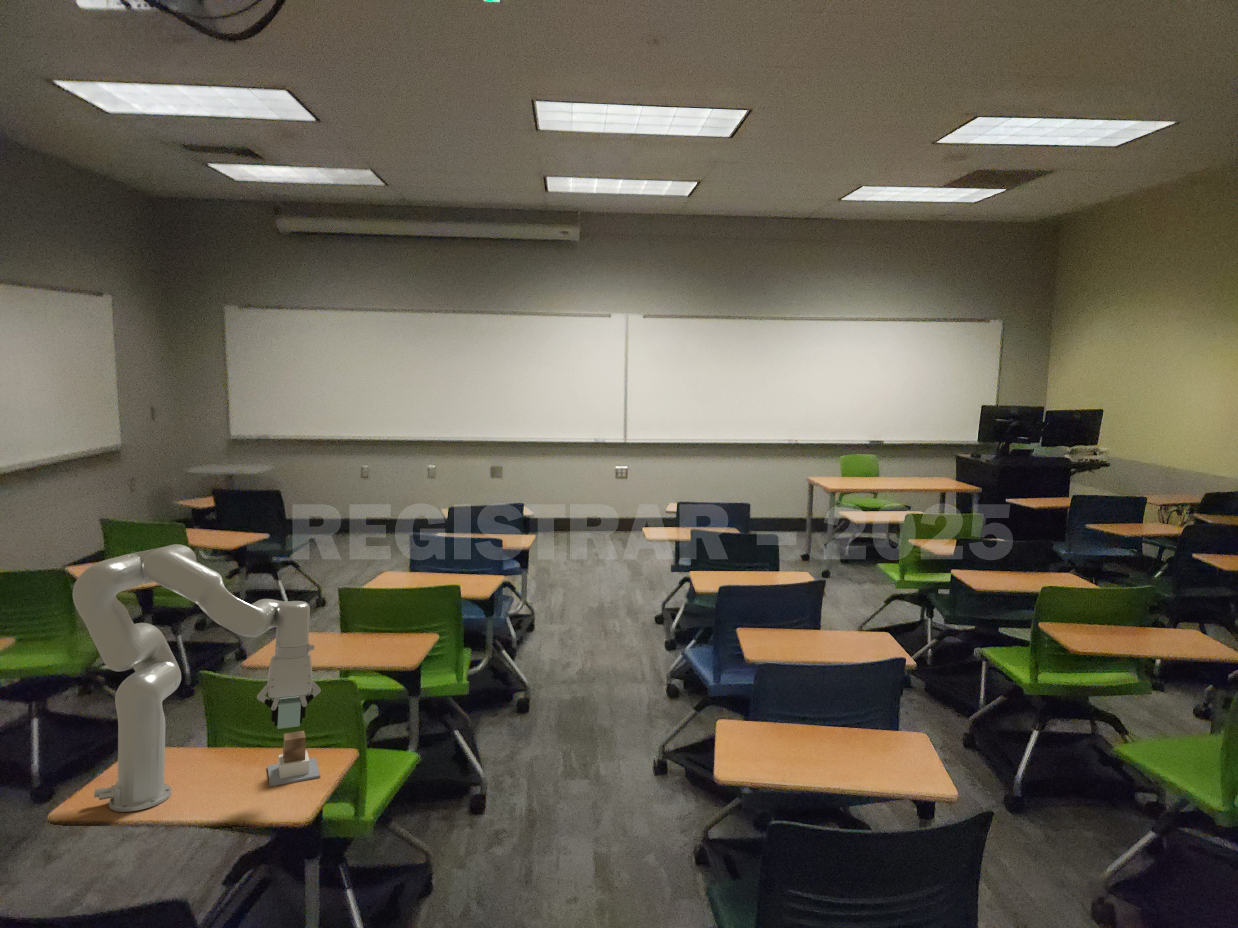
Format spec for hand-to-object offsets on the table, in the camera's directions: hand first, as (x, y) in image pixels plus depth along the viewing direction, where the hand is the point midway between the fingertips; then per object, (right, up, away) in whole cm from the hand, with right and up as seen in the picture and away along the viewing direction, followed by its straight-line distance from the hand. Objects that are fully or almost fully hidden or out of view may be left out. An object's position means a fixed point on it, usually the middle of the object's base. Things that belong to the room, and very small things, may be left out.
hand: (288, 721), depth 176 cm
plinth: (-3, -18, +10) cm, 21 cm away
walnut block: (-3, -14, +10) cm, 17 cm away
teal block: (0, -1, 0) cm, 1 cm away
